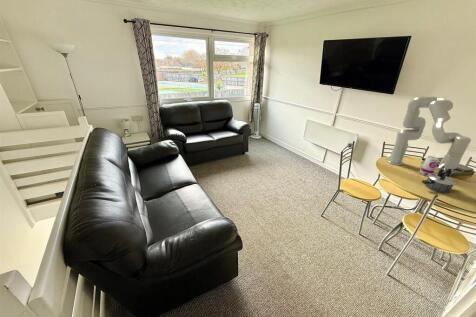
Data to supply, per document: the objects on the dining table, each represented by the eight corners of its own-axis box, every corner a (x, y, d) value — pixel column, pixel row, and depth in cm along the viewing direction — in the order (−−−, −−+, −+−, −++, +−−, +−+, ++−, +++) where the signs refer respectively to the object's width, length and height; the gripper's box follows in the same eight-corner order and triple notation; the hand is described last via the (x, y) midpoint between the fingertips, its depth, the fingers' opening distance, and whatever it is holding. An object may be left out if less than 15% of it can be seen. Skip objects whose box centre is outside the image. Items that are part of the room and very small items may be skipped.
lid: (422, 174, 156) (426, 167, 153) (439, 173, 158) (443, 166, 155) (442, 186, 143) (446, 178, 140) (460, 184, 145) (465, 176, 142)
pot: (412, 183, 158) (415, 175, 155) (438, 181, 161) (442, 174, 158) (429, 194, 146) (433, 186, 143) (457, 192, 148) (462, 184, 145)
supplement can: (433, 177, 167) (442, 160, 160) (422, 175, 169) (430, 159, 162) (427, 172, 174) (435, 156, 168) (416, 171, 176) (424, 155, 169)
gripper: (459, 151, 145) (447, 173, 153) (438, 152, 143) (427, 174, 151) (471, 155, 139) (458, 178, 147) (449, 156, 137) (437, 179, 145)
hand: (443, 176), depth 149 cm, fingers open, 4 cm apart
